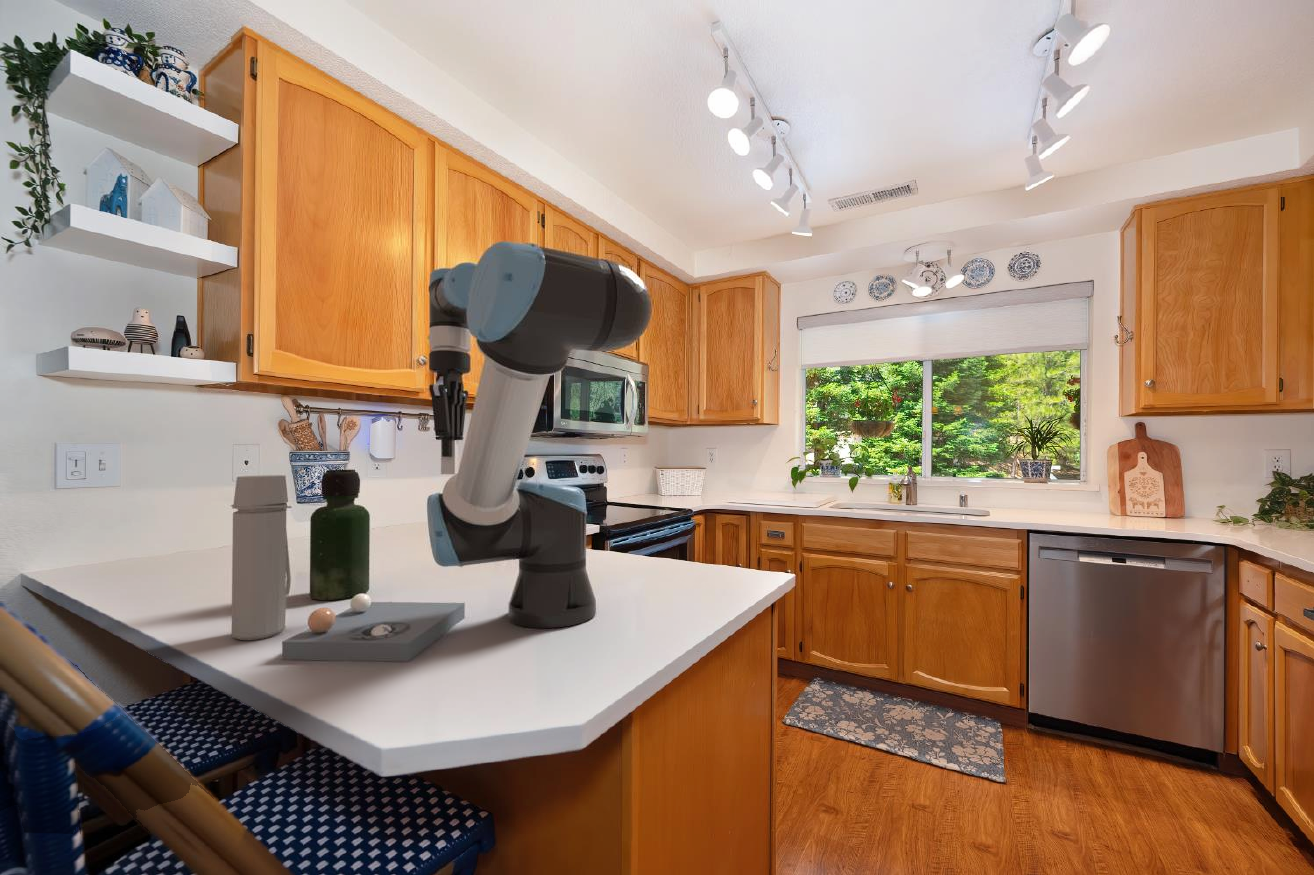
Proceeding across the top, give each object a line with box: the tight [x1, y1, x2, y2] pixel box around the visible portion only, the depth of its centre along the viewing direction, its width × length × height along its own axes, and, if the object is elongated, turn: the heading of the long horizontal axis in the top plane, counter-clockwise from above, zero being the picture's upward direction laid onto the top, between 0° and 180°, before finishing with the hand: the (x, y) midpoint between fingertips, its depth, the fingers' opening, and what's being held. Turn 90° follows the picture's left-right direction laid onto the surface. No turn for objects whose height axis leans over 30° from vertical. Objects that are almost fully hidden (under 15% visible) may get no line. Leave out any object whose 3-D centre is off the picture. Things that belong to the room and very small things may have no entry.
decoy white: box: [350, 593, 372, 613], centre depth 92 cm, size 3×3×3 cm
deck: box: [281, 601, 466, 663], centre depth 88 cm, size 18×20×2 cm
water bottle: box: [230, 474, 292, 641], centre depth 90 cm, size 9×8×25 cm
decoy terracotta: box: [307, 607, 336, 633], centre depth 82 cm, size 4×4×4 cm
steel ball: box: [369, 625, 393, 636], centre depth 83 cm, size 3×3×3 cm
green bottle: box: [309, 469, 371, 601], centre depth 113 cm, size 10×10×25 cm
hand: (449, 473), depth 108 cm, fingers closed
